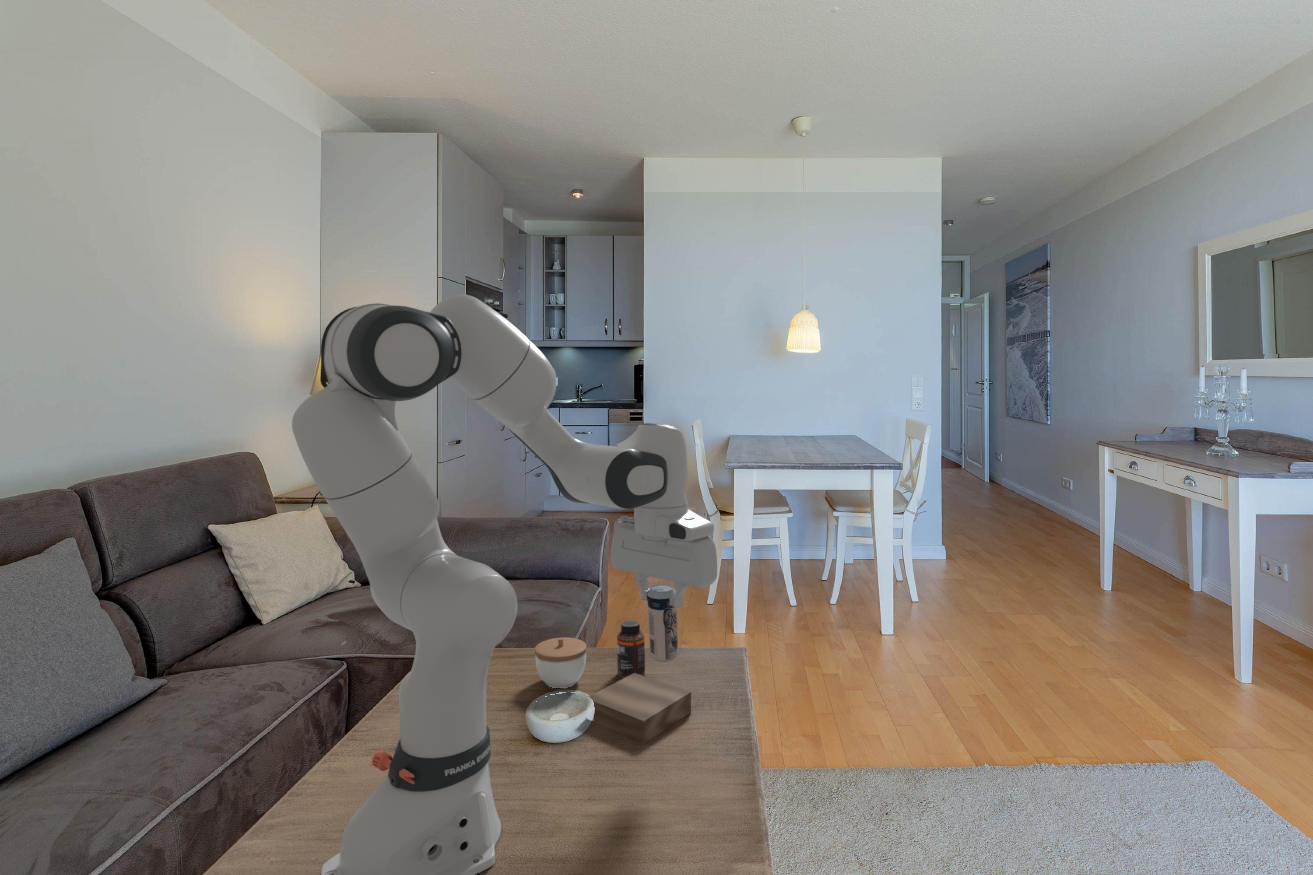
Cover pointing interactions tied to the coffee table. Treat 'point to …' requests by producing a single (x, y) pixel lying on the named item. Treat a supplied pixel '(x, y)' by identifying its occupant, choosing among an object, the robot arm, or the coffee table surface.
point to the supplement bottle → (630, 649)
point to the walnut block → (640, 706)
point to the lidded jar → (560, 661)
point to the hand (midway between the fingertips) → (661, 603)
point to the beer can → (662, 623)
